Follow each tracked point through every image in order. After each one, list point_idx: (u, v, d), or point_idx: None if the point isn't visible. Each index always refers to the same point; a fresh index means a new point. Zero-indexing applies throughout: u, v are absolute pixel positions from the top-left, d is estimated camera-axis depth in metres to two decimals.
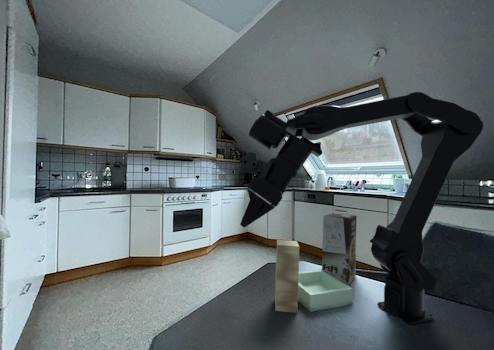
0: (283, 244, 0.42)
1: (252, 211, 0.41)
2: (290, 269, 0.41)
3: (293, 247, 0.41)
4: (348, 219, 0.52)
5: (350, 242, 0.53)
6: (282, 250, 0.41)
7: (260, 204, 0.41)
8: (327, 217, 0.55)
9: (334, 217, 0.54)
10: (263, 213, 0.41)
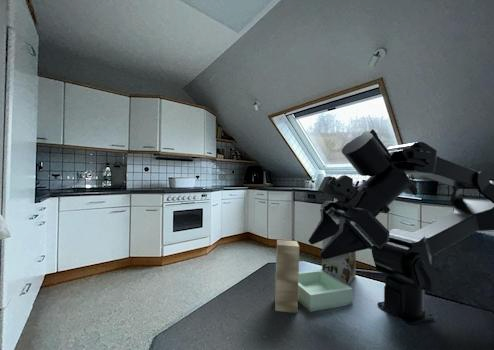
0: (283, 244, 0.42)
1: (340, 244, 0.36)
2: (290, 269, 0.41)
3: (293, 247, 0.41)
4: None
5: None
6: (282, 250, 0.41)
7: (351, 239, 0.36)
8: None
9: None
10: (354, 250, 0.35)
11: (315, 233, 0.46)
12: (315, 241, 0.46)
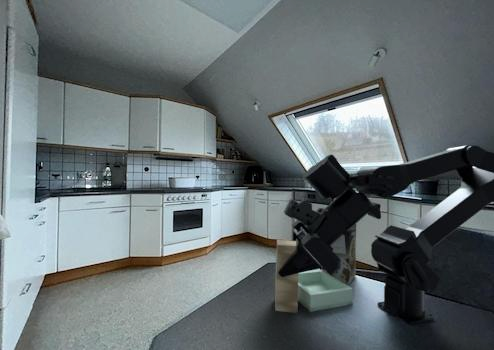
0: (283, 244, 0.42)
1: (295, 264, 0.39)
2: None
3: (293, 247, 0.41)
4: None
5: (350, 242, 0.53)
6: (282, 250, 0.41)
7: (305, 259, 0.39)
8: None
9: None
10: (307, 269, 0.39)
11: None
12: None
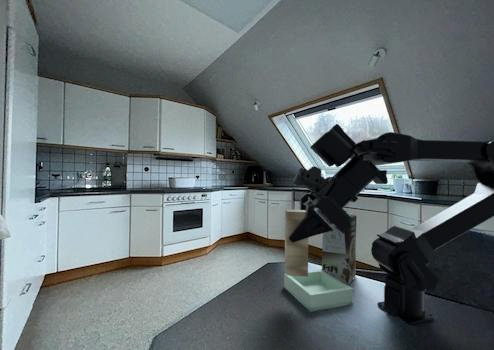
0: (293, 211, 0.43)
1: (306, 228, 0.40)
2: None
3: (303, 213, 0.42)
4: None
5: (350, 242, 0.53)
6: (292, 217, 0.42)
7: (315, 223, 0.40)
8: None
9: None
10: (318, 233, 0.40)
11: None
12: None
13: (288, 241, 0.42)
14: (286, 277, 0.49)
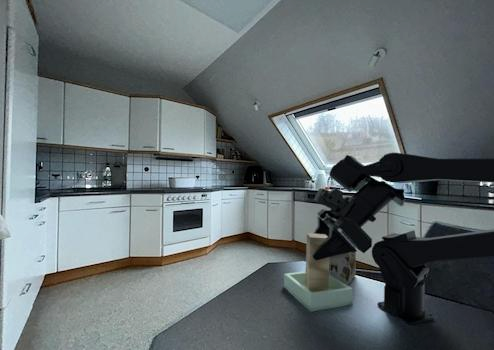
0: (315, 236, 0.46)
1: (329, 247, 0.42)
2: None
3: (324, 239, 0.45)
4: None
5: None
6: (314, 242, 0.46)
7: (338, 243, 0.42)
8: None
9: None
10: (341, 252, 0.42)
11: None
12: None
13: (310, 264, 0.45)
14: (286, 277, 0.49)
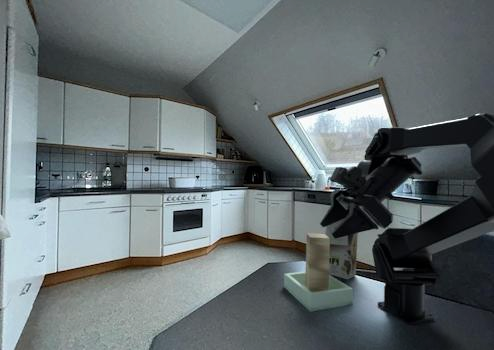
0: (314, 236, 0.46)
1: (350, 225, 0.42)
2: (321, 258, 0.45)
3: (324, 239, 0.45)
4: None
5: (352, 235, 0.54)
6: (314, 242, 0.46)
7: (359, 221, 0.42)
8: None
9: None
10: (362, 230, 0.41)
11: (326, 217, 0.52)
12: (326, 224, 0.52)
13: (310, 264, 0.45)
14: (286, 277, 0.49)
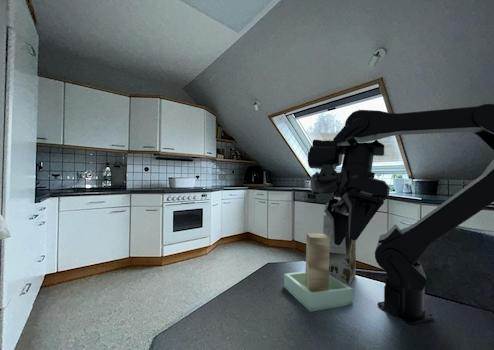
0: (314, 236, 0.46)
1: (358, 217, 0.37)
2: (321, 258, 0.45)
3: (324, 239, 0.45)
4: None
5: (350, 242, 0.53)
6: (314, 242, 0.46)
7: (363, 208, 0.38)
8: (327, 217, 0.55)
9: None
10: (372, 214, 0.37)
11: (335, 233, 0.46)
12: (340, 240, 0.46)
13: (310, 264, 0.45)
14: (286, 277, 0.49)
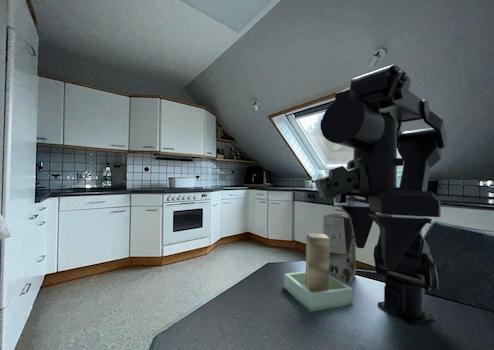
0: (314, 236, 0.46)
1: (395, 241, 0.27)
2: (321, 258, 0.45)
3: (324, 239, 0.45)
4: (348, 219, 0.52)
5: (350, 242, 0.53)
6: (314, 242, 0.46)
7: (399, 226, 0.27)
8: (327, 217, 0.55)
9: (334, 217, 0.54)
10: (414, 235, 0.27)
11: (356, 234, 0.38)
12: (363, 242, 0.37)
13: (310, 264, 0.45)
14: (286, 277, 0.49)
